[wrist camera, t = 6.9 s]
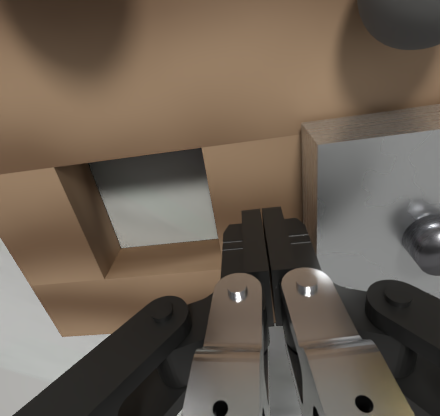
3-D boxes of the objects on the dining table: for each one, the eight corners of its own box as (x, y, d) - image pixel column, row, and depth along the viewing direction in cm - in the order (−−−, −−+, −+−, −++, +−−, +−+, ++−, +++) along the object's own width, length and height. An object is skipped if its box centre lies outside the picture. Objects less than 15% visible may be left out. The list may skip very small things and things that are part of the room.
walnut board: (-202, -231, 9) (-345, -318, 7) (672, -516, 6) (900, -803, 4) (81, 303, 20) (62, 336, 17) (445, 275, 17) (476, 310, 15)
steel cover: (301, 123, 10) (327, 157, 7) (523, 92, 10) (650, 117, 7) (304, 275, 14) (322, 339, 11) (468, 261, 13) (536, 327, 10)
